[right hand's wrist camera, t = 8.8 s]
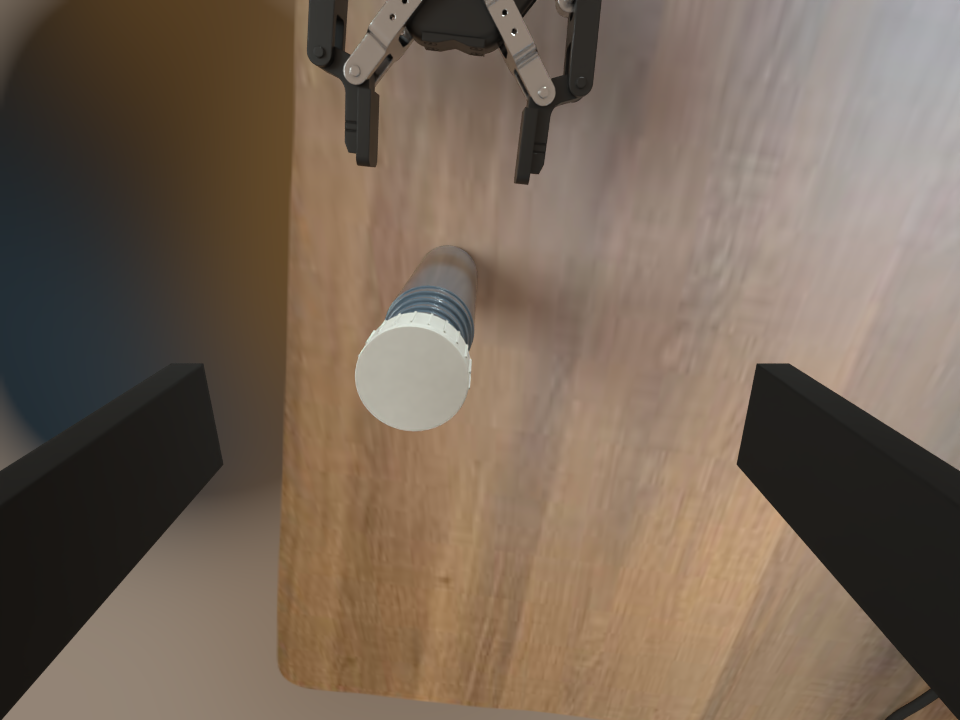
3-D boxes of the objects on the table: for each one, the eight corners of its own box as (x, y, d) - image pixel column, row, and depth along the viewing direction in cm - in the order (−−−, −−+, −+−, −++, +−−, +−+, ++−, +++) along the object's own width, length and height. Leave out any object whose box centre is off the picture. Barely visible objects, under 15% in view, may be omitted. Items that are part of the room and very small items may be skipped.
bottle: (407, 279, 37) (332, 384, 19) (442, 233, 36) (400, 296, 18) (453, 315, 38) (425, 448, 20) (489, 270, 37) (495, 368, 18)
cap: (343, 369, 20) (330, 388, 18) (406, 288, 19) (398, 299, 17) (428, 429, 21) (423, 453, 19) (493, 354, 20) (494, 372, 18)
